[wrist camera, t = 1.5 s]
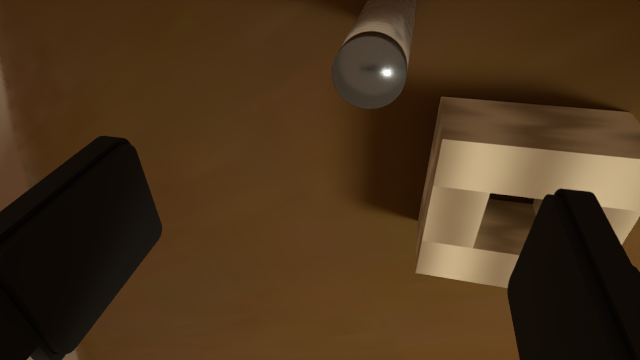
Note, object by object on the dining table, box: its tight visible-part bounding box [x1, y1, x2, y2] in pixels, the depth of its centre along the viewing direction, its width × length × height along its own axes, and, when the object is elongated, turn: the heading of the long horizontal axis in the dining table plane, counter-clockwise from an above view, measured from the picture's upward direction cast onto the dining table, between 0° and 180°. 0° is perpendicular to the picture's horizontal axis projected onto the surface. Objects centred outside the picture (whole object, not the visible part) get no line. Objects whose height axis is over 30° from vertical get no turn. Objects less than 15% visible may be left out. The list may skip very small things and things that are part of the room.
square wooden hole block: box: [416, 97, 640, 288], centre depth 28 cm, size 12×12×6 cm
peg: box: [332, 0, 417, 109], centre depth 21 cm, size 3×3×12 cm
